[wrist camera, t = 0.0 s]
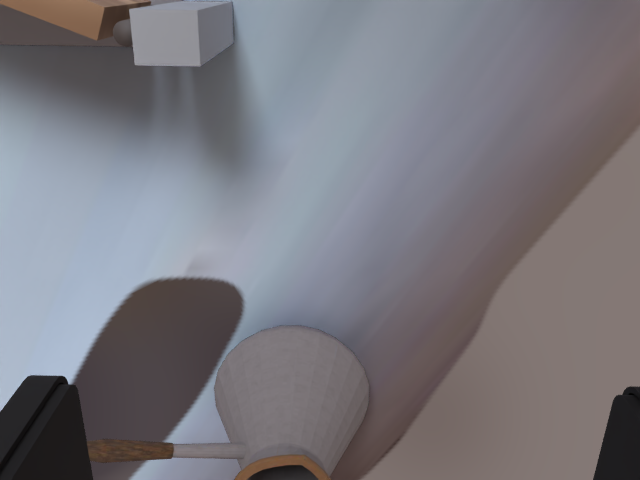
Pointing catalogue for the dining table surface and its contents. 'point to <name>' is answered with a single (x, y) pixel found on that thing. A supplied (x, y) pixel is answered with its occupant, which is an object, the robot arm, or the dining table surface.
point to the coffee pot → (274, 408)
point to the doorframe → (141, 32)
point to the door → (85, 16)
